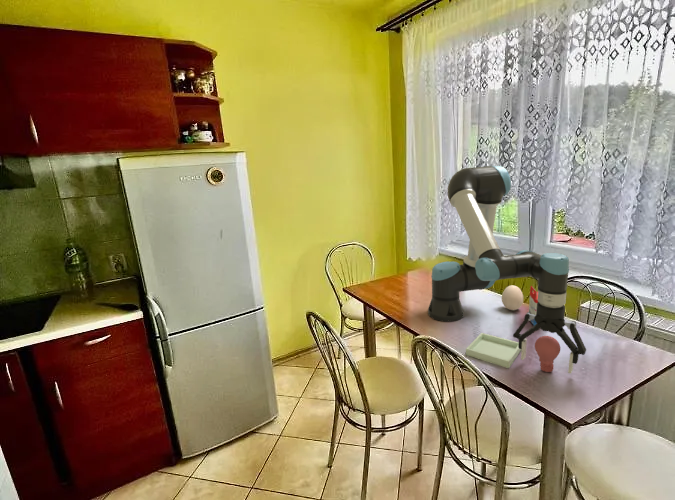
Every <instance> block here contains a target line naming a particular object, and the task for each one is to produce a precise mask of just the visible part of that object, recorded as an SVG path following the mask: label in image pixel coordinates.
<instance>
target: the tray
mask: <svg viewBox="0 0 675 500" xmlns="http://www.w3.org/2000/svg"><path fill="white" fill-rule="evenodd" d="M518 346H519V341H514V340H513V339H512V340H511V339H508V338H504V337H499V336H495V335H492V334H488V333H484V332H480V333H479V335H477V337H476V338H474V340H473V341H472V342H471V343H470V344H469V345H468V346H467V347H466V348H465V356H467V357H470V358H474V359H478V360H480V361H484V362H487V363H491V364H492V365H495V366H499V367H503V368H506V369H510V367H511V366H512V365H513V363H514V362H515V360H516V359H517V357H518V356H519V355H520V353H521V351H522V349H519V347H518Z"/></svg>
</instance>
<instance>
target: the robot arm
mask: <svg viewBox="0 0 675 500" xmlns="http://www.w3.org/2000/svg"><path fill="white" fill-rule="evenodd" d="M511 181H512V180H511V176H510V174H509V172H508V170H507V168H505V167H503V166H502V165H488V166H486V165H485V166H478V167H465V168H462V169H459V170H458V171H456V172H455V173H454V174H453V175H452V177H451V178H450V180H449V181H448V182H449V183H448V185H447V197H448V201H449V203H450V205H451V207H453V208H455V209H456V212H457V214H458V217H459V219H460V221H461V223H462V225H463V227H464V230H465V232H466V234H467V236H468V239H469V243H468V251H467V256H465V257H464V258H463V262H462V264H460V263H459V262H457V261H443V262H438V263H437V264H435V265H434V266H433V267H432V269H431V299H430V303H429V306H428V309H427V314H428V315H427V316H429V318H431V319H432V320H436V321H438V322H439V321H440V322H456V321H460V320H461V319H463V317H464V308H463V306H462V303H461V299H460V292H461V293H462V292H468V291H476V290H480V291H481V290H485V289H489V288H491V287H493V286H494V284H495V283H496V281H499V280H500V281H501V280H506V279H518V278H525V277H527V278H528V277H531V278H532V279H535V280H538V286H537V292H538V298H537V300H538V303H537V312H536V315H533V314H531V313H530V312H529V311H528V312H526V313H525V315H524V318H523V319H524V320H523V321H522V322H521V323H520V325H519V326H518V328H517V329H516V330H515V331H514V333H513V334H512V337H513V338H514V339H515V338H516V339H517V340H518V342H519V346H518V347H519V349H522V350H521V352H520V353H521V355H520V360H522V361H524V360H525V358H526V357H527V343H528V342H527V341H528V339H527V338H528V337H529V336H531V335H532V334H534V333H535V332H537V331H539V330H542V331H543V332H549V333H552V334H556V335H557V336H559V337H560V338H561V340H562V341H563V342H564V344H565V345H566V347H568V349H569V350H570V352H569V353H570V354H569V362H568V370H567V371H568V372H567V373H568V374H570V375H571V374H572V372H573V369H574V364H575V365H576V364H578V361H579V355H582V356H584V355H585V354H586V352H587V348H586V346H585V343H584V342H583V339H582V337H581V335H580V334H579V331H578V330H577V329H578V328H577V322H576V321H575V320H572V321H566V320H565V313H566V312H565V311H566V306H565V304H566V301H567V289H568V282H569V281H568V280H569V279H568V278H569V272H570V267H569V265H570V264H569V263H570V259H569V257H568V256H567V255H565V254H562V253H557V252H546V253H545V252H544V253H542V254H539V253H537V252H535V251H533V250H527V249H523V250H520V251H518V252H516V254H510V255H509V254H508V255H504V254H503V252H502V250H501V248H500V246H499V244H498V242H497V240H496V238H495V236H494V226H495V222H496V221H495V220H496V219H495V218H496V213H497V207H498V206H499V205H500V204H501V203H502V202H503V197H504V196H505V197H506V196H507V195H508V194H509V193H510V191H511V187H512V182H511ZM532 319H534V320H535V321H536V323H537V324H536V325H535V326H534V325H533V326H532V327H530V328H529V329H528V330H526V331H524V332H523V333H521V332H522V330H523V329H524V328H525V327H526V325H528V322H529V321H530V322H531V320H532ZM564 327H567V329H568V330H569V332H570V335H571V336H572V339H573V340H574V341H573V340H572V339H571V337H570V336H569V335H568V334H567V332H566V330H565V329H564Z"/></svg>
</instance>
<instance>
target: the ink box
mask: <svg viewBox="0 0 675 500" xmlns="http://www.w3.org/2000/svg"><path fill="white" fill-rule="evenodd" d="M537 298H538V291H537V290H536V289H535V288H534V287H533V286H532V285H530V287H529V300H528V312H530V313H531V314H533V315H536V312H537V303H538V300H537ZM530 322H531V324H532V325H533V326H535V325H536V324H537V323H536V321H535V320H534V319H532V320H531V321H530Z"/></svg>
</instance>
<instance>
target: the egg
mask: <svg viewBox="0 0 675 500" xmlns="http://www.w3.org/2000/svg"><path fill="white" fill-rule="evenodd" d="M501 302H502V305H503V306H504V307H505V308H506V309H507V310H509V311H517V310H519V309H520V308H521V307H522V305H523V303H524V294H523V292H522V290H521V288H520V287H518V286H516V285H512V284H511V285H508V286H506V287H505V289H504V290H503V292H502V294H501Z"/></svg>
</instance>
